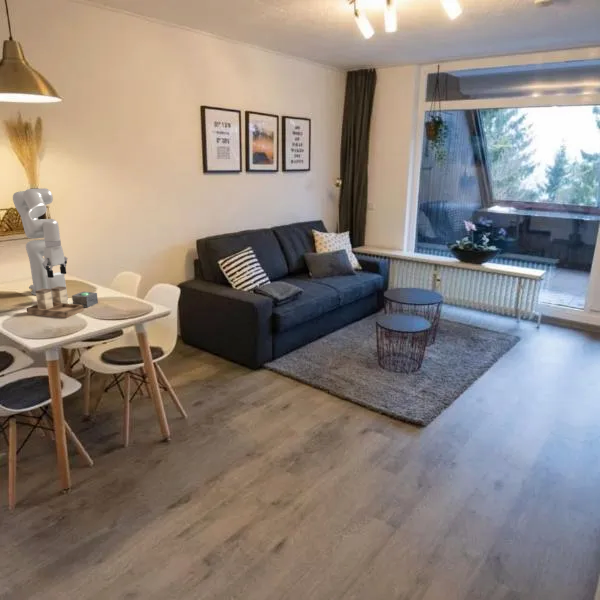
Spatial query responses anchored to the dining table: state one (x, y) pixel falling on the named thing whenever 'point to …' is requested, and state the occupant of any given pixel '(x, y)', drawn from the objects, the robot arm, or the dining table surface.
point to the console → (85, 299)
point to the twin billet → (44, 298)
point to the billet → (59, 294)
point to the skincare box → (56, 281)
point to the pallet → (57, 310)
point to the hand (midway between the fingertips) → (57, 275)
